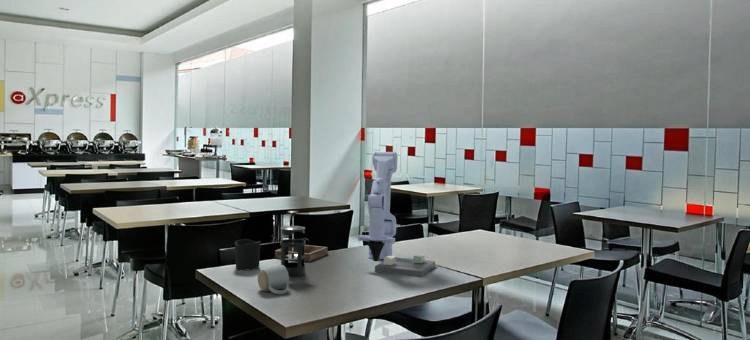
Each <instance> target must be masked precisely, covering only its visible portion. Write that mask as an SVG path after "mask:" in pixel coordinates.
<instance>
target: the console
mask: <svg viewBox="0 0 750 340" xmlns="http://www.w3.org/2000/svg"><path fill="white" fill-rule="evenodd" d="M413 259H414V258H405V257H397V256H396V263H395V264H393V265H384V261H382V262H380V263H378V264H376V265H375V266H374V272H375V273H384V274H385V273H386V274H394V275H404V276H412V277H413V276H414V277H419V278H420V277H422V276H424V275H425V274H427V273H429V271H431V270H432V269H434V267H436V261H435V260H427V259H425V260H424V262H422V263H413Z"/></svg>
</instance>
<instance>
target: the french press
mask: <svg viewBox="0 0 750 340" xmlns="http://www.w3.org/2000/svg"><path fill="white" fill-rule="evenodd" d="M287 213H288V214H291V218H292V225H287V226H281V227H280V230H281V235H282V236H288V237H289V236H292V238H288V239H287V238H284V239H281V241H280V249H281V258H280V265H283V266H285V268H286V269H287V271H288V275H289V278H298V277H299V278H300V277H304V276H305V275H307V274H306V273H307V272H306V263H305V261H304V257H305V256H304V253H305V252H304V246H305V245H306V240H305V239H301V238H294V234H295V233H301V234H305V230H306V227H305V226H300V225H294V223H295V222H294V220H295V219H294V217H295V214H297V213H298V214H299V213H300V212H299V211H298V210H288V211H287ZM289 247H292V254H289ZM293 247H297V251H296V252H297V254H294V253H293ZM289 261H290V262H289Z"/></svg>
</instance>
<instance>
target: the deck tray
mask: <svg viewBox="0 0 750 340" xmlns="http://www.w3.org/2000/svg"><path fill="white" fill-rule="evenodd" d="M293 253H294V254H297V247H293ZM289 254H292V247H289ZM328 254H329V251H328V246H318V245H309V244H305V246H304V256H305V257H304V262H312V261H314V260H317V259H320V258H322V257H324V256H327V255H328ZM274 258H275V259H281V248H278V249H276V250H274Z"/></svg>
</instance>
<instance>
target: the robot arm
mask: <svg viewBox="0 0 750 340" xmlns="http://www.w3.org/2000/svg"><path fill="white" fill-rule="evenodd" d="M371 161H372V165H373V170H374V172H376V175H375V176H376V177H375V179H374V180H373V181H372V185H371V191H370V195H368V198H367V209H368V210H367V212H368V214H369V215H368V216H369V217H368V235H367V234H359V235H358V236H357V241H358V242H360V241H362V242H367V246H368V256H367V259H373V262H379V261H380V260H384V258H385V257H387V256H396V255H395V254H393V245H394V244H396V238H395V237H394V236H395V235H396V234H397V219H396V216H395V215H393V214H392V213H391V212H390V210H391V193H392V192H391V189H392V188H391V187H392V177H393V174H395V173H397V169H398V153H397V152H396V151H377V150H375V151H374V152H373V153H372V160H371ZM396 257H397V256H396Z"/></svg>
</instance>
